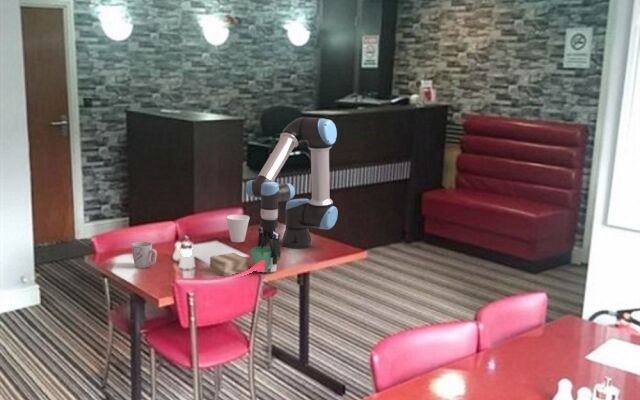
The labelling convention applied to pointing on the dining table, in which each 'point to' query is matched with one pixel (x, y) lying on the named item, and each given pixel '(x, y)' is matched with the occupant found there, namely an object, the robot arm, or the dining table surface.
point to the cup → (237, 227)
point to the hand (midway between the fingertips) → (268, 268)
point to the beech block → (228, 264)
